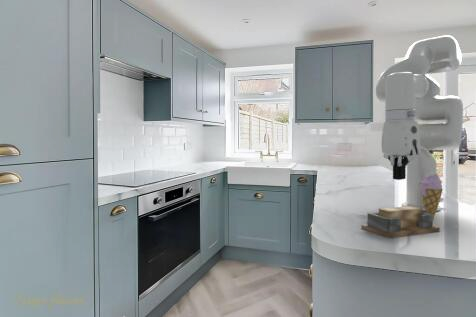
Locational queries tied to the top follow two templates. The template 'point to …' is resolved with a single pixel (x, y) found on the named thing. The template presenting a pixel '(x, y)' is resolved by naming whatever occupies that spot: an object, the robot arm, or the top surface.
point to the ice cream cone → (431, 192)
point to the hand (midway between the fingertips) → (399, 178)
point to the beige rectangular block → (403, 215)
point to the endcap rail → (398, 225)
